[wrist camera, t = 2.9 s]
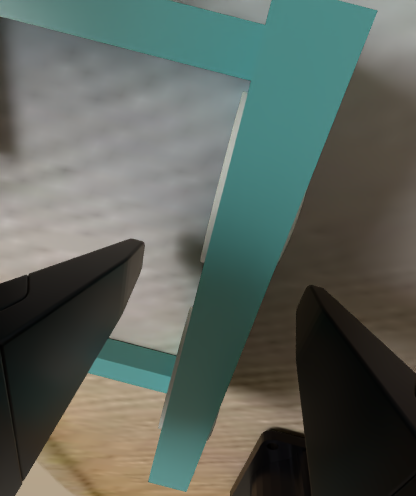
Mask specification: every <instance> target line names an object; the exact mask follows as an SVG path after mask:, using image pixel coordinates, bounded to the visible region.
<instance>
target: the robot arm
mask: <svg viewBox="0 0 416 496" xmlns="http://www.w3.org/2000/svg"><path fill="white" fill-rule="evenodd" d="M144 248H145V244H144V242H143V241H139V240H136V239H128V240H125V241H122V242H119V243H116V244H113V245H111V246H108V247H105V248H102V249H99V250H96V251H93V252H90V253H88V254H85V255H82V256H79V257H76V258H73V259H70V260H67V261H64V262H62V263H59V264H56V265H53V266H50V267H47V268H44V269H41V270H38V271H36V272H33V273H30V274H29V275H24V276H21V277H18V278H15V279H12V280H9V281H6V282H3V283H0V496H15V495H16V493H17V492H18V490H19V488H20V486H21V485H22V481H23V480H24V479H25V477H26V476H27V474H28V473H29V471H30V469H31V468H32V466H33V464H34V463H35V461H36V459H37V457H38V456H39V454H40V452H41V451H42V449H43V447H44V446H45V444H46V442H47V441H48V439H49V437H50V436H51V434H52V432H53V431H54V429H55V427H56V425H57V424H58V422H59V420H60V419H61V417H62V415H63V414H64V412H65V410H66V409H67V407H68V405H69V404H70V402H71V400H72V398H73V397H74V395H75V393H76V392H77V390H78V388H79V387H80V385H81V383H82V382H83V380H84V378H85V377H86V375H87V373H88V371H89V370H90V368H91V366H92V365H93V363H94V361H95V360H96V358H97V356H98V355H99V353H100V351H101V350H102V348H103V346H104V344H105V343H106V341H107V339H108V338H109V336H110V334H111V333H112V331H113V329H114V328H115V326H116V324H117V323H118V321H119V319H120V317H121V315H122V314H123V311H124V309H125V307H126V305H127V302H128V300H129V298H130V295H131V293H132V291H133V288H134V286H135V284H136V281H137V279H138V277H139V274H140V272H141V269H142V263H143V256H144ZM296 364H297V374H298V382H299V391H300V399H301V408H302V416H303V425H304V434H305V439H304V438H301V437H297V436H293V435H289V434H285V433H281V432H278V431H272V430H270V431H265V432H263V433H262V434H261V436H260V438H259V440H258V441H257V443H256V445H255V447H254V449H253V451H252V452H251V454H250V456H249V458H248V460H247V461H246V463H245V465H244V467H243V469H242V471H241V472H240V474H239V476H238V478H237V480H236V482H235V483H234V485H233V487H232V489H231V491H230V496H416V373H415V372H414V371H413V370H411V369H410V368H409V367H408V366H407V365H406V364H405V363H404V362H403V361H402V360H401V359H400V358H398V357H397V356H396V355H395V354H394V353H393V352H392V351H391V350H390V349H389V348H388V347H387V346H385V345H384V344H383V343H382V342H381V341H380V340H379V339H378V338H377V337H376V336H375V335H374V334H372V333H371V332H370V331H369V330H368V329H367V328H366V327H365V326H364V325H363V324H362V323H361V322H359V321H358V320H357V319H356V318H355V317H354V316H353V315H352V314H351V313H350V312H349V311H348V310H346V309H345V308H344V307H343V306H342V305H341V304H340V303H339V302H338V301H337V300H336V299H335V298H333V297H332V296H331V295H330V294H329V293H328V292H327V291H326V290H325V289H324V288H321V287H317V286H314V285H309V286H308V287H307V288H306V290H305V292H304V294H303V296H302V298H301V300H300V303H299V305H298V307H297V311H296Z"/></svg>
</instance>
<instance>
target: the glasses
mask: <svg viewBox="0 0 416 496" xmlns="http://www.w3.org/2000/svg"><path fill="white" fill-rule="evenodd" d="M376 13H377V10H373V9H369V8H366V7H362V6H358V5H354V4H350V3H346V2H342V1H338V0H272V1H271V5H270V9H269V12H268V16H267V20H266V24H265V25H263V24H260V23H256V22H252V21H248V20H244V19H240V18H236V17H232V16H228V15H224V14H220V13H216V12H213V11H209V10H205V9H201V8H197V7H193V6H189V5H185V4H181V3H177V2H173V1H169V0H0V17H4V18H8V19H12V20H16V21H20V22H23V23H27V24H31V25H35V26H39V27H43V28H47V29H51V30H55V31H59V32H62V33H66V34H70V35H74V36H78V37H82V38H86V39H90V40H94V41H98V42H102V43H105V44H109V45H113V46H117V47H121V48H125V49H129V50H133V51H137V52H141V53H144V54H148V55H152V56H156V57H160V58H164V59H168V60H172V61H176V62H180V63H183V64H187V65H191V66H195V67H199V68H203V69H207V70H211V71H215V72H219V73H223V74H226V75H230V76H234V77H238V78H242V79H246V80H250V81H251V83H250V87H249V90H248V93H247V92H243V94H242V97H241V100H240V104H239V107H238V111H237V114H236V118H235V122H234V125H233V129H232V133H231V137H230V140H229V144H228V148H227V152H226V156H225V159H224V163H223V167H222V171H221V175H220V179H219V183H218V187H217V191H216V195H215V199H214V203H213V207H212V211H211V215H210V219H209V223H208V227H207V232H206V236H205V240H204V244H203V249H202V253H201V258H200V262H204V266H203V270H202V274H201V278H200V282H199V286H198V289H197V293H196V297H195V301H194V305H193V307H190V309H189V313H188V316H187V320H186V323H185V327H184V331H183V334H182V338H181V342H180V345H179V349H178V353H177V356H174V355H170V354H166V353H162V352H159V351H155V350H151V349H147V348H143V347H139V346H136V345H132V344H128V343H124V342H120V341H116V340H113V339H109V338H108V339H107V341H106V343H105V344H104V346H103V348H102V350H101V351H100V353H99V355H98V356H97V358H96V360H95V361H94V363H93V365H92V366H91V368H90V370H89V371H88V373H90V374H94V375H98V376H102V377H106V378H109V379H113V380H117V381H121V382H125V383H129V384H132V385H136V386H140V387H144V388H148V389H151V390H155V391H159V392H163V393H167V395H166V399H165V403H164V407H163V411H162V415H161V419H160V423H159V427H158V428H159V429H162V430H161V434H160V438H159V442H158V445H157V449H156V453H155V457H154V461H153V465H152V469H151V473H150V477H149V481H148V482H150V483H154V484H158V485H162V486H165V487H169V488H173V489H177V490H181V491H184V492H186V491H187V489H188V486H189V484H190V481H191V479H192V476H193V474H194V471H195V469H196V466H197V464H198V461H199V459H200V456H201V454H202V451H203V449H204V446H205V444H206V441H207V440H208V439H209V437H210V436H211V433H212V431H213V428H214V426H215V422H216V419H217V416H218V413H219V409H220V406H221V403H222V401H223V398H224V396H225V393H226V391H227V388H228V386H229V383H230V381H231V378H232V376H233V373H234V371H235V368H236V366H237V363H238V361H239V358H240V356H241V353H242V351H243V348H244V346H245V343H246V340H247V338H248V335H249V333H250V330H251V328H252V325H253V323H254V320H255V318H256V315H257V313H258V310H259V308H260V305H261V303H262V300H263V298H264V295H265V293H266V290H267V288H268V285H269V283H270V280H271V278H272V275H273V273H274V270H275V268H276V266H277V264H278V262H279V260H280V259H281V257H282V255H283V253H284V251H285V249H286V247H287V244H288V242H289V240H290V237H291V235H292V233H293V230H294V227H295V225H296V222H297V219H298V216H299V214H300V211H301V208H302V205H303V201H304V198H305V195H306V192H307V188H308V185H309V182H310V179H311V177H312V174H313V172H314V169H315V167H316V164H317V162H318V159H319V157H320V154H321V152H322V149H323V147H324V144H325V142H326V139H327V137H328V134H329V132H330V129H331V127H332V124H333V122H334V119H335V117H336V114H337V112H338V109H339V107H340V104H341V102H342V99H343V96H344V94H345V91H346V89H347V86H348V84H349V81H350V79H351V76H352V74H353V71H354V69H355V66H356V64H357V61H358V59H359V56H360V54H361V51H362V49H363V46H364V44H365V41H366V39H367V36H368V34H369V31H370V29H371V26H372V24H373V21H374V19H375V16H376Z"/></svg>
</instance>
